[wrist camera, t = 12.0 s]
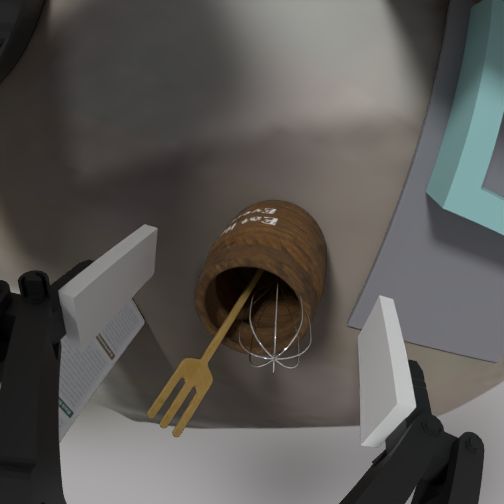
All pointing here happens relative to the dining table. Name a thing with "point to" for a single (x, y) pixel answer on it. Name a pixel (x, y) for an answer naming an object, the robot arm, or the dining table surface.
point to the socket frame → (474, 123)
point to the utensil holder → (253, 294)
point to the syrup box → (93, 363)
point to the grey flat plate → (442, 238)
